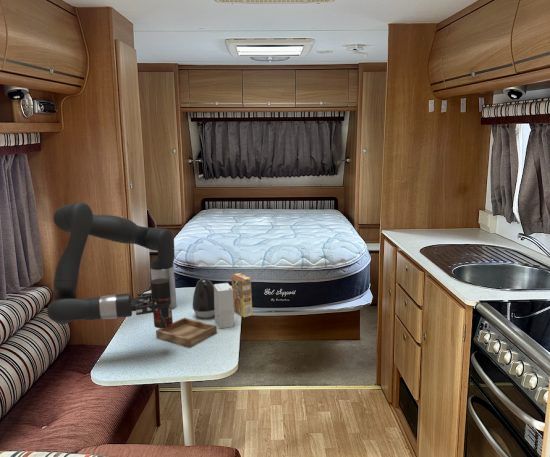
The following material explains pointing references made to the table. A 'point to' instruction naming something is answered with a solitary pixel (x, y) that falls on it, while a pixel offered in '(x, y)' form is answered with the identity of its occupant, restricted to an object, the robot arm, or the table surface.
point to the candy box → (242, 294)
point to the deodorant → (161, 293)
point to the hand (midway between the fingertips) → (169, 300)
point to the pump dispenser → (204, 299)
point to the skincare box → (223, 305)
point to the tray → (186, 332)
